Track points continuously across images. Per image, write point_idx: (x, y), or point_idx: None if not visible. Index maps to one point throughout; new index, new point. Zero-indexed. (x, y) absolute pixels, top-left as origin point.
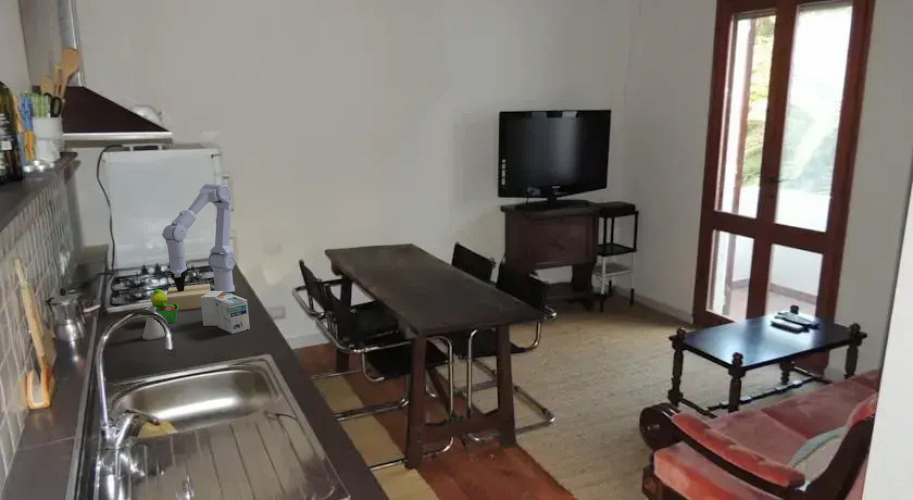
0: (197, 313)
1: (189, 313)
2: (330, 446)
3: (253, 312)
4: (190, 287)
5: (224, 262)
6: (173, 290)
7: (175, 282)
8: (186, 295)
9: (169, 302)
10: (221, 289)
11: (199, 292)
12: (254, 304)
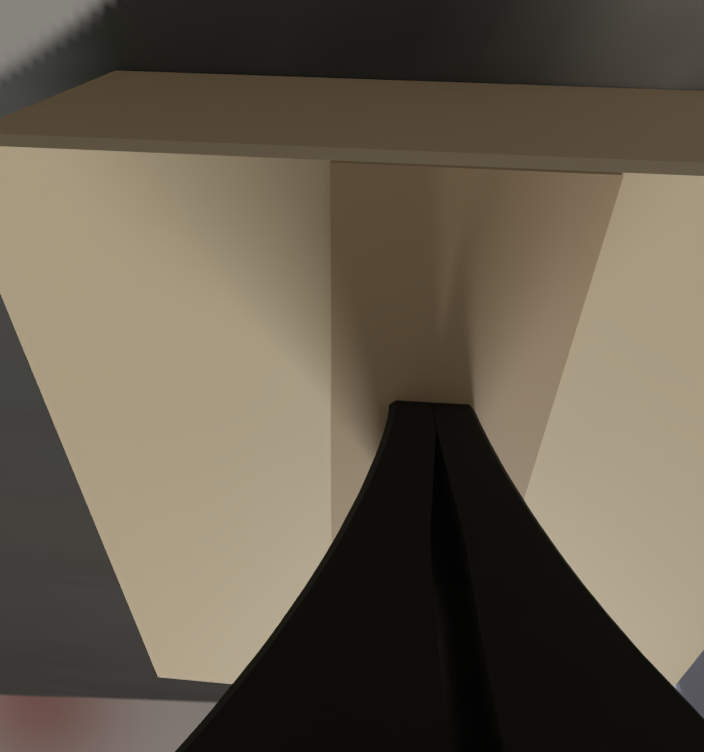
0: (16, 422)
1: (18, 356)
2: None
3: (27, 676)
4: (607, 567)
5: None
6: (571, 316)
7: (306, 598)
8: (88, 497)
9: None
10: (697, 658)
11: (216, 621)
12: (209, 700)
